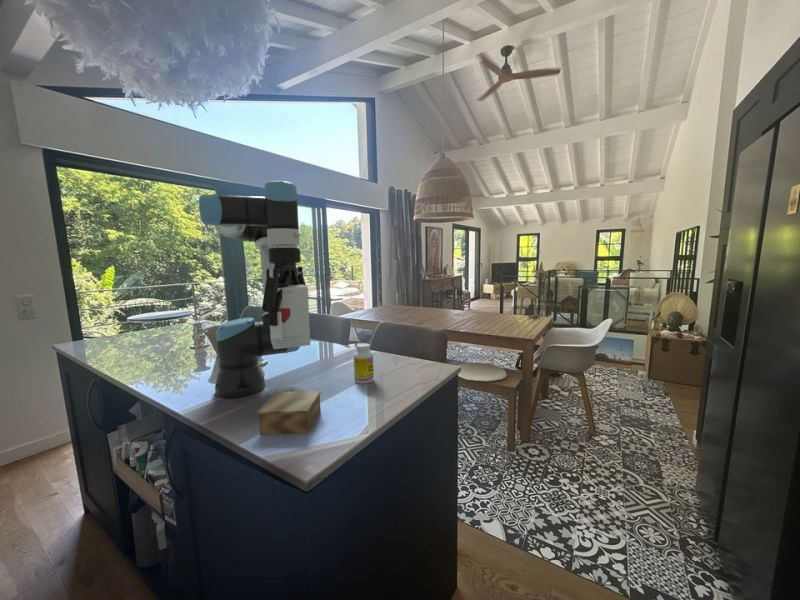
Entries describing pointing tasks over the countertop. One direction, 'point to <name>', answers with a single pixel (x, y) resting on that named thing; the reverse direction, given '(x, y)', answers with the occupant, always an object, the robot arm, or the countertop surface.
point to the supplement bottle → (363, 364)
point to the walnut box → (290, 412)
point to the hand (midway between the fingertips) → (289, 332)
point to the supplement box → (294, 317)
